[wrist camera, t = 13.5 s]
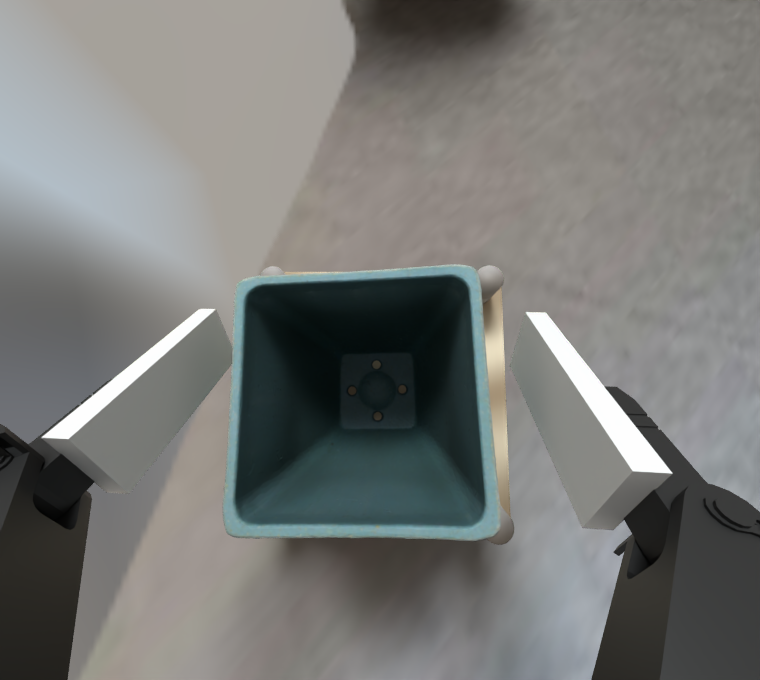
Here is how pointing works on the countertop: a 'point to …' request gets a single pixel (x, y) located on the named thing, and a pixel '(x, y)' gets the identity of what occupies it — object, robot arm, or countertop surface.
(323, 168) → the countertop surface
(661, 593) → the robot arm
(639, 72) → the countertop surface
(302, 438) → the flower pot
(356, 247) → the countertop surface
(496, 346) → the plant stand
